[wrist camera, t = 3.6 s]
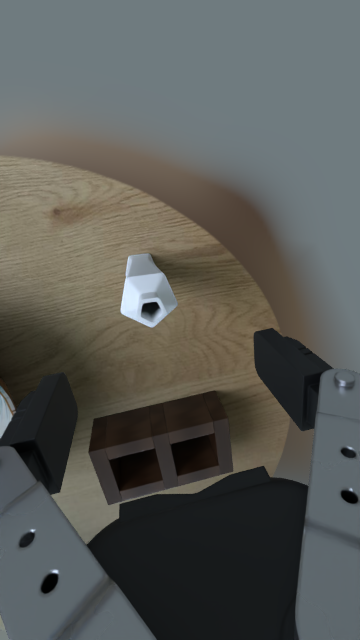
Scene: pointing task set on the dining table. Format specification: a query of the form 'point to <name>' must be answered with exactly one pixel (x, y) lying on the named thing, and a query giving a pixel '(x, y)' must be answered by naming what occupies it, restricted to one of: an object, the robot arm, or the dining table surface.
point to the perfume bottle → (146, 291)
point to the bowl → (5, 407)
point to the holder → (161, 446)
